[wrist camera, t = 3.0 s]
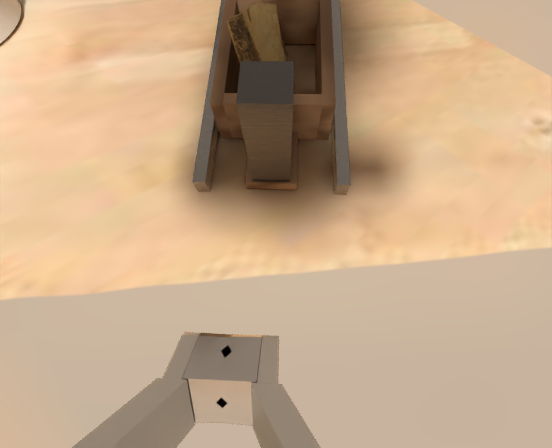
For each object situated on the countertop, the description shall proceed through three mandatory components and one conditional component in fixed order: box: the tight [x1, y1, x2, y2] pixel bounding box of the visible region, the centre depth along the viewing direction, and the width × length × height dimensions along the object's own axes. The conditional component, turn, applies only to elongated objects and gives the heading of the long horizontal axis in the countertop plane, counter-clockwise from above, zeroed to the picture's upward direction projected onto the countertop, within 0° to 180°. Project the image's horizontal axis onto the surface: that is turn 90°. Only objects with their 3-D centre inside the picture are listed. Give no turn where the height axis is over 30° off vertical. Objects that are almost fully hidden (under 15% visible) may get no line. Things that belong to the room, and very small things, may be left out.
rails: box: [193, 0, 350, 195], centre depth 33 cm, size 15×30×2 cm, turn 178°
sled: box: [210, 0, 336, 190], centre depth 27 cm, size 11×21×11 cm, turn 178°
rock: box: [227, 2, 287, 63], centre depth 30 cm, size 11×9×10 cm
